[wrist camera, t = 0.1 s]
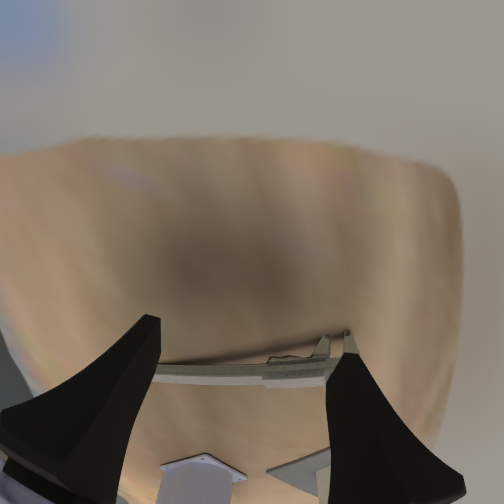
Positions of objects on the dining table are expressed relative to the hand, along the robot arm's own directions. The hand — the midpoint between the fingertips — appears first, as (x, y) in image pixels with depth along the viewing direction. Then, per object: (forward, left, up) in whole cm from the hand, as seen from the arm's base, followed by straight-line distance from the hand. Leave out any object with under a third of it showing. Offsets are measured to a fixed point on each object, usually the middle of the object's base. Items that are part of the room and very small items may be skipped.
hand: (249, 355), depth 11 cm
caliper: (-7, -6, -11) cm, 14 cm away
